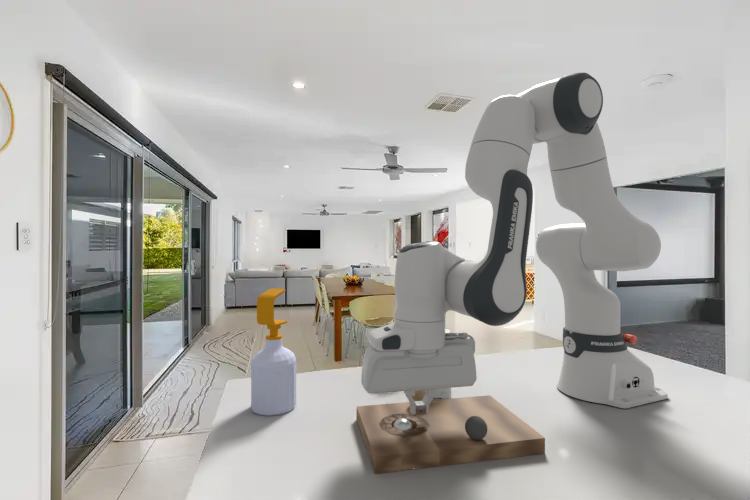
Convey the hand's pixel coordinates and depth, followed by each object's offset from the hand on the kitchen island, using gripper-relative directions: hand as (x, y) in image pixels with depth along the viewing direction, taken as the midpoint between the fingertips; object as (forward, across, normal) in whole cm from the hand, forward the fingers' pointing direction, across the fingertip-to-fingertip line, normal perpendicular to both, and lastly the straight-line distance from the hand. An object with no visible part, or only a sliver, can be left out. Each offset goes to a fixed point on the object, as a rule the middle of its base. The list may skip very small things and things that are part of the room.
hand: (419, 413), depth 66 cm
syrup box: (+4, -10, -18) cm, 21 cm away
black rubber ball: (0, -7, +7) cm, 10 cm away
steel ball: (+2, +3, 0) cm, 4 cm away
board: (+4, -4, 0) cm, 6 cm away
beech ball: (0, -2, -7) cm, 7 cm away
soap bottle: (+4, +26, -18) cm, 32 cm away
